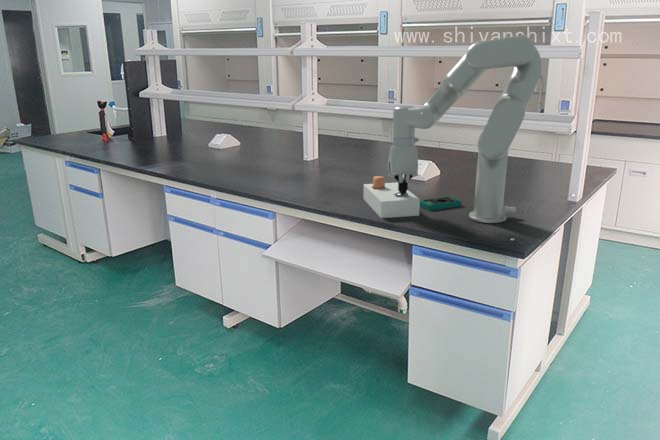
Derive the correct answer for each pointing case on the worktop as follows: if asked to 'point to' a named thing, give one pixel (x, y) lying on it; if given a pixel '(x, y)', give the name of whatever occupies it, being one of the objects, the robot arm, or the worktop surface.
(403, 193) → the charcoal plunger
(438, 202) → the digital multimeter
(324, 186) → the worktop surface
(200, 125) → the worktop surface
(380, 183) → the orange rounded cylinder
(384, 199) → the panel
